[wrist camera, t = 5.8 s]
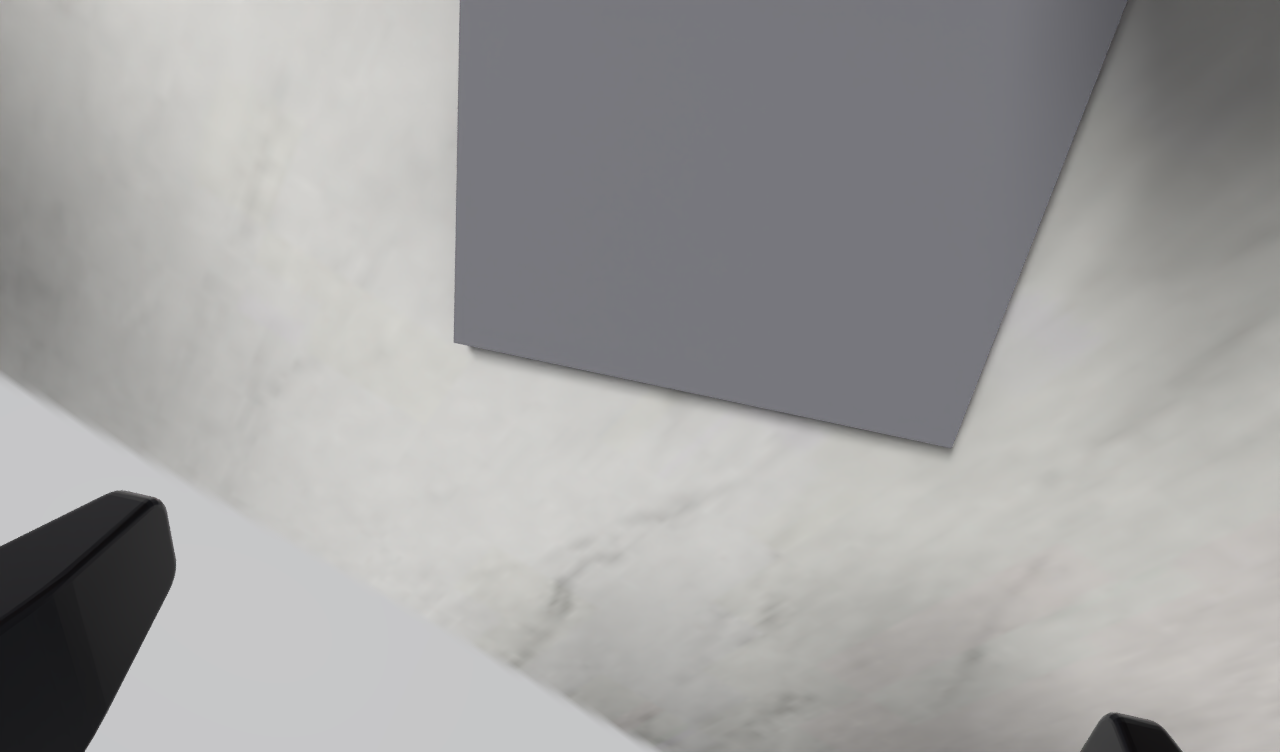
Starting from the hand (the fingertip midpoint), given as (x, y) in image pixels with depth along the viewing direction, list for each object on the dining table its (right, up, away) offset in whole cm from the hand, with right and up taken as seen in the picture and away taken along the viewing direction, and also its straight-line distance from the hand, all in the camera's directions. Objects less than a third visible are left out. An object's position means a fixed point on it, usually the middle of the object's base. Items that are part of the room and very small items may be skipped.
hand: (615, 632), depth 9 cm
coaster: (+2, +7, +10) cm, 13 cm away
